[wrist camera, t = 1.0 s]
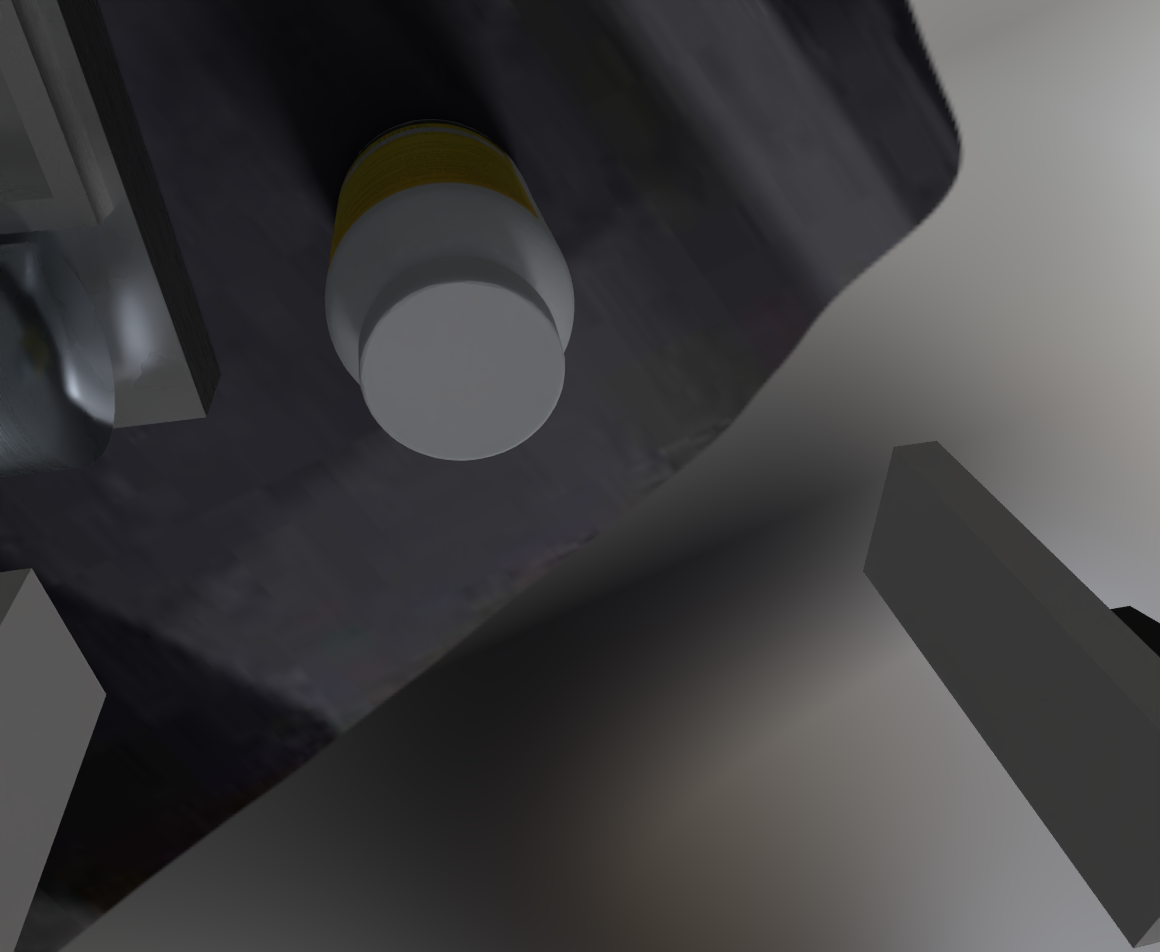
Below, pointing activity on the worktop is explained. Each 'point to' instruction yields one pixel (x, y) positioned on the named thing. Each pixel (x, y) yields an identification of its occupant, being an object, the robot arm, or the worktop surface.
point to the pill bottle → (447, 292)
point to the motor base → (84, 253)
